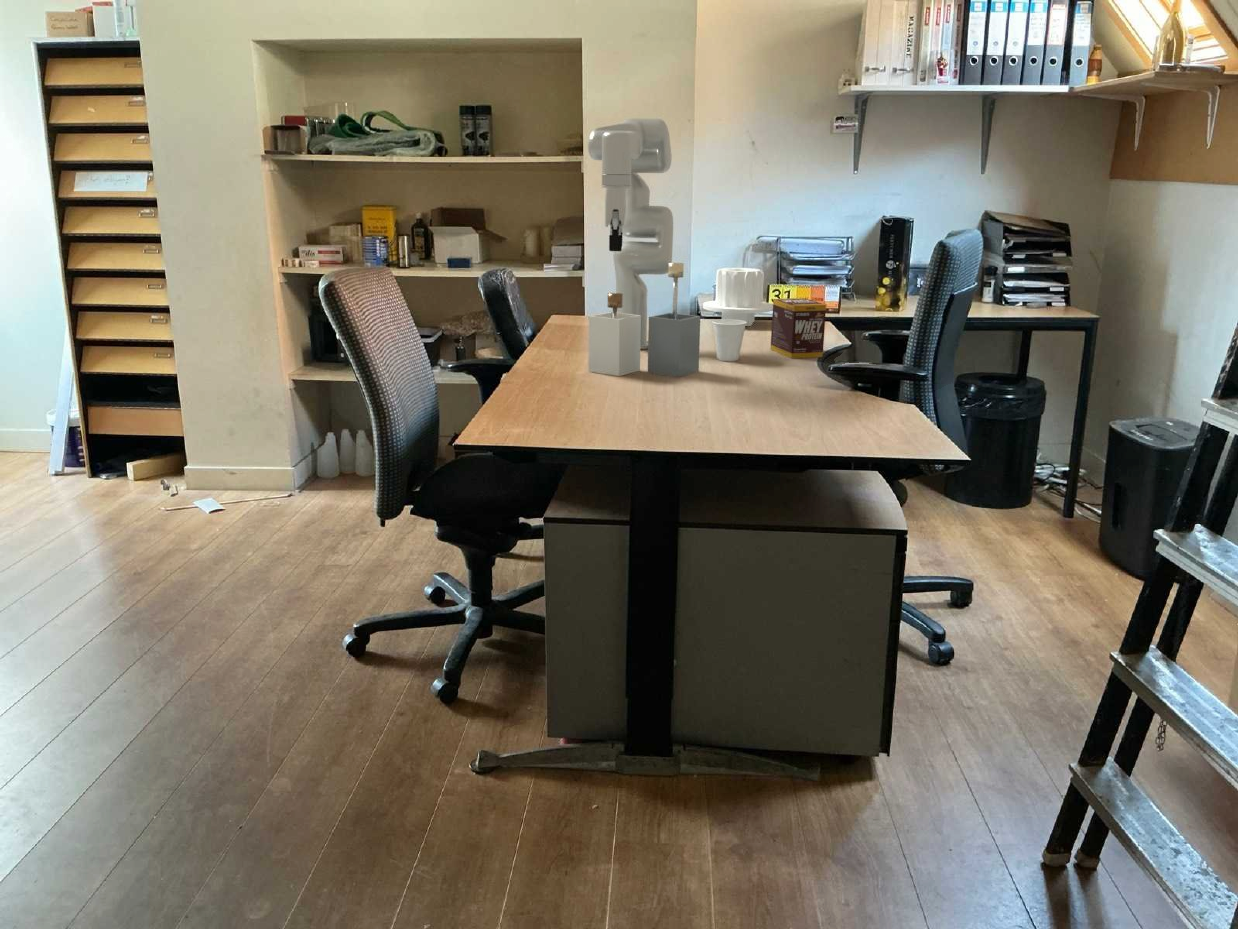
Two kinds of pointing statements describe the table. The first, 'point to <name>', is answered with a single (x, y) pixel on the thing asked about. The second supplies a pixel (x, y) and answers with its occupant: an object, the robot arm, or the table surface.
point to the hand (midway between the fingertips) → (615, 249)
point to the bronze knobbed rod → (615, 302)
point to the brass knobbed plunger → (675, 282)
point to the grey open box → (673, 344)
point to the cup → (728, 338)
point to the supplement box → (798, 327)
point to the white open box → (614, 343)
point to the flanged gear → (739, 294)
